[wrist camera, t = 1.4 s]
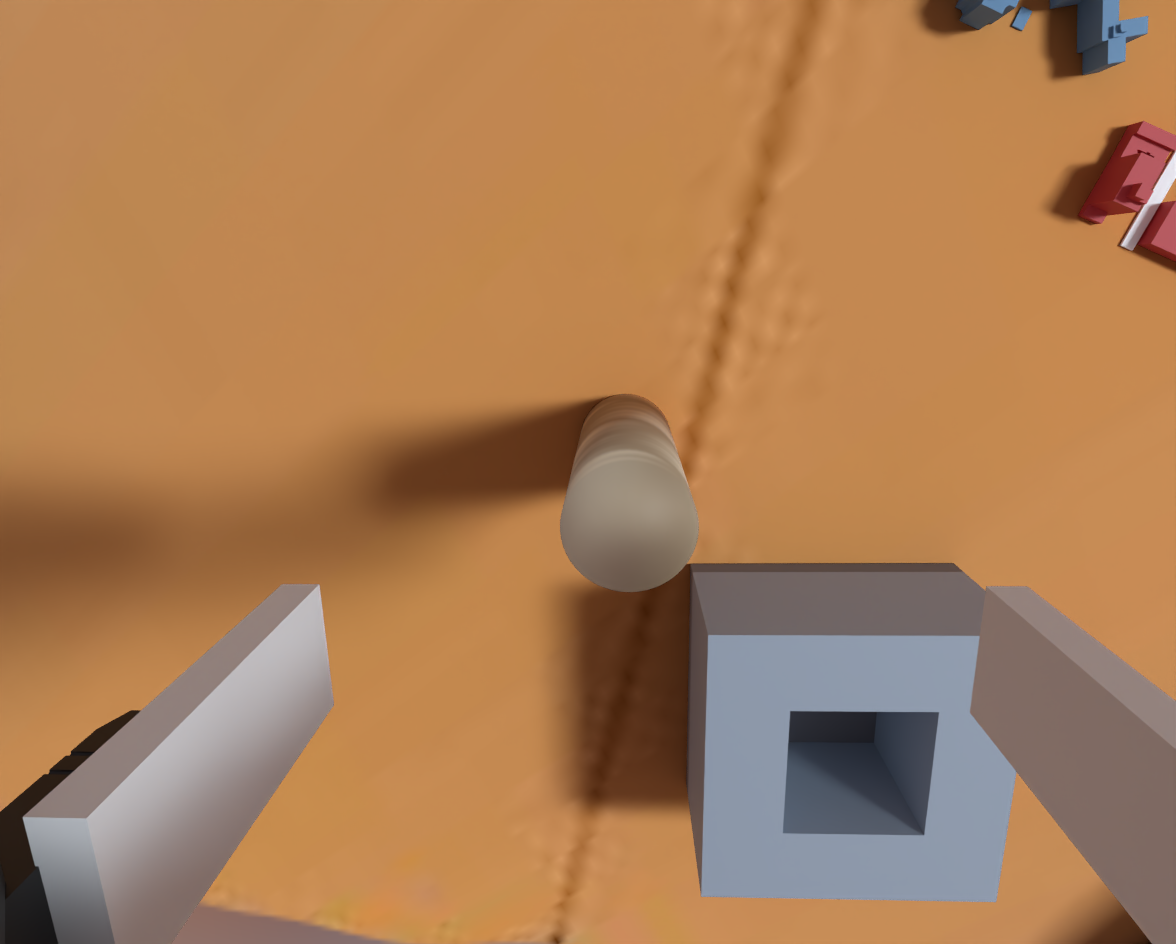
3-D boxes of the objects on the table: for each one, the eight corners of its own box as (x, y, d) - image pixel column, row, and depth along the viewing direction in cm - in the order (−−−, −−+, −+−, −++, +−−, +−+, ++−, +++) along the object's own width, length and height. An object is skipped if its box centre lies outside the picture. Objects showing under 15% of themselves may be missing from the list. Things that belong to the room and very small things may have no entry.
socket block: (686, 784, 37) (701, 896, 31) (690, 563, 34) (708, 635, 27) (926, 786, 37) (996, 901, 30) (953, 563, 34) (1037, 635, 27)
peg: (581, 481, 33) (562, 592, 22) (579, 394, 32) (558, 461, 21) (669, 481, 33) (697, 592, 22) (670, 393, 32) (700, 460, 21)
